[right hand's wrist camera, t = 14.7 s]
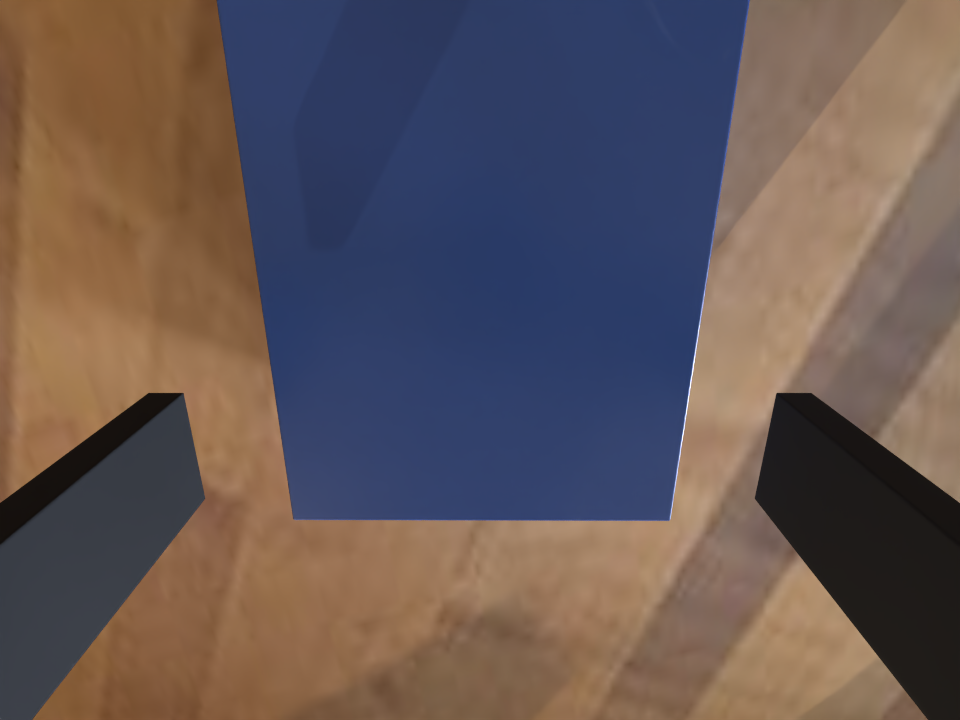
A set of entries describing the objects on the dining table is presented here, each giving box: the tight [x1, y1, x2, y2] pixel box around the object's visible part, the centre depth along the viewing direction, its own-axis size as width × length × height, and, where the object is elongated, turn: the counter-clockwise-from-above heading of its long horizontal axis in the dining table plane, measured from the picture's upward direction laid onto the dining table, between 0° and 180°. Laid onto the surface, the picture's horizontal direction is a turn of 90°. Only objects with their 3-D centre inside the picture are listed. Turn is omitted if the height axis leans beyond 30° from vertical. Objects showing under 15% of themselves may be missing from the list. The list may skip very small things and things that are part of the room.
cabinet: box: [217, 0, 750, 521], centre depth 16 cm, size 17×10×8 cm, turn 0°
